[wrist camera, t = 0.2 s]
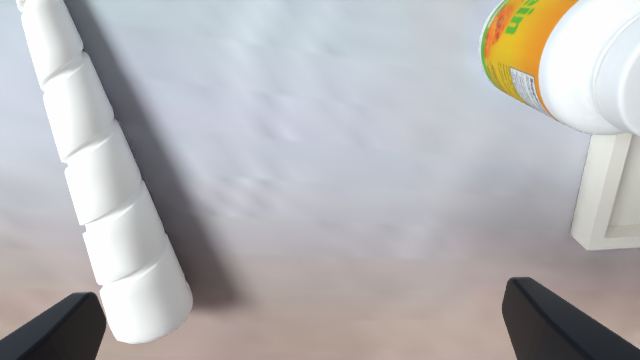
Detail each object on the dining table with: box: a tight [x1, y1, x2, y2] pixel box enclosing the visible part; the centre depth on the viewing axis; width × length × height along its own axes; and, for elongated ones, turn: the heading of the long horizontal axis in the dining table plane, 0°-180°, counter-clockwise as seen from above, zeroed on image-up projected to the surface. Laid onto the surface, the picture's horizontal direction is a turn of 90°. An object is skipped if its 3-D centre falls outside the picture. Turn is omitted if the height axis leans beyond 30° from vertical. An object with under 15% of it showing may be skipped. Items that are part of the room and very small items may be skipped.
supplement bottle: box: [479, 0, 640, 137], centre depth 16 cm, size 5×5×10 cm
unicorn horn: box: [16, 0, 193, 344], centre depth 20 cm, size 5×24×5 cm, turn 5°
